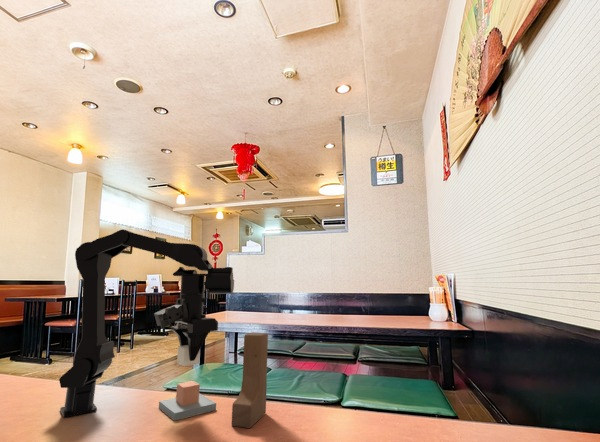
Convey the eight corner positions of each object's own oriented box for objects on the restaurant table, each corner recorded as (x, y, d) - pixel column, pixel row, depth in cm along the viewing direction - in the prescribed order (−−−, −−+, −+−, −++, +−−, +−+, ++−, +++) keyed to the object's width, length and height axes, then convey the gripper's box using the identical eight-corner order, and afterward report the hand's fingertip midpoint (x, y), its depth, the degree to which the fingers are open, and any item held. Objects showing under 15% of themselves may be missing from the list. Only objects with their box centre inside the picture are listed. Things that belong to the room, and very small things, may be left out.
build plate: (158, 407, 79) (159, 401, 79) (197, 398, 86) (198, 392, 86) (174, 420, 72) (174, 413, 72) (215, 409, 78) (216, 403, 79)
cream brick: (177, 363, 80) (178, 346, 81) (192, 360, 83) (193, 344, 84) (183, 366, 77) (184, 348, 78) (199, 363, 80) (200, 346, 81)
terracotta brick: (175, 401, 79) (177, 383, 80) (191, 397, 82) (192, 380, 83) (182, 406, 76) (183, 387, 77) (198, 402, 79) (199, 384, 80)
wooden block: (250, 429, 68) (253, 338, 71) (230, 426, 69) (234, 337, 73) (266, 413, 76) (268, 332, 80) (248, 411, 78) (251, 332, 81)
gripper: (147, 294, 85) (142, 357, 82) (173, 295, 71) (168, 372, 68) (189, 293, 92) (185, 351, 89) (220, 294, 79) (217, 363, 75)
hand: (188, 359), depth 80 cm, fingers closed on cream brick, 4 cm apart
